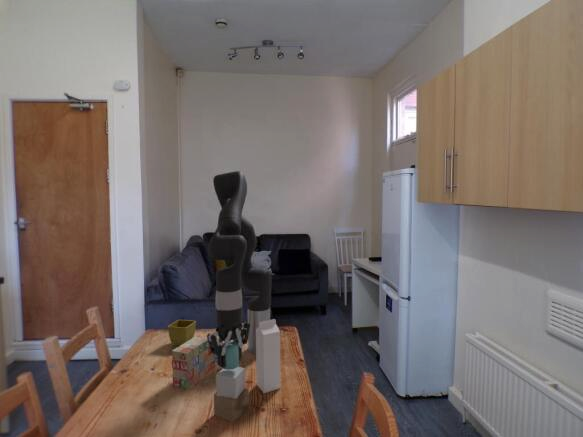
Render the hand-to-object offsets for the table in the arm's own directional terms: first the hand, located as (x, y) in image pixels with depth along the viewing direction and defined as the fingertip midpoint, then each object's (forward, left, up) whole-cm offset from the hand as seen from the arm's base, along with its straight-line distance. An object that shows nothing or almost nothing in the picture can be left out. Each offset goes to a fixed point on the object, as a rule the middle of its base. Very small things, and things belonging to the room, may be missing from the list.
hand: (230, 363), depth 98 cm
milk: (-17, -2, -15) cm, 22 cm away
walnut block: (0, 0, -14) cm, 14 cm away
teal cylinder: (0, 0, -1) cm, 1 cm away
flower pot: (-16, -54, -15) cm, 58 cm away
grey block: (0, 0, -8) cm, 8 cm away
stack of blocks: (-7, -27, -15) cm, 31 cm away
